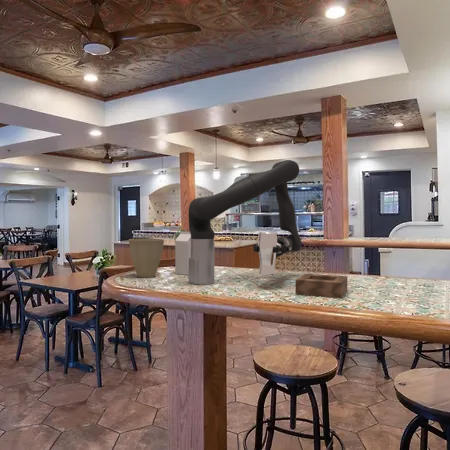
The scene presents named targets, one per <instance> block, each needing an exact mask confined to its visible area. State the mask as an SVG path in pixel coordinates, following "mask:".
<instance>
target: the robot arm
mask: <svg viewBox="0 0 450 450" xmlns="http://www.w3.org/2000/svg"><path fill="white" fill-rule="evenodd" d="M299 174H300V165H299V164H298V162H296V161H294V160H293V159H292V160H291V159H285V160H281V161H278V162H276V163H274V164H273V165H272V167H271V168H270V169H267V170H266V171H262V172H258V173H254V174H251V175H249V176H246V177H244V178H241V179H240V180H237V181H235V182H234V183H232V184H231V185H230V186H228V187H227V188H226V189H224V190H223V191H221V192H218V193H215V194H213V195H208V196H204V197H203V196H201V197H197V198H194V199H192V200H191V202H190V204H189V206H188V230H189V231H188V232H190V234H191V258H189V275H188V283H191V284H193V285H210V284H214V283H215V231H214V230H213V229H212V226H211V221H212V220H214V219H215V218H217V217H219V216H220V215H221V214H224V212H226V211H228V210H230V209H232V208H235V207H238V206H240V205H243V204H245V203H247V202H249V201H252V200H253V199H256V198H257V197H259V196H261V195H263V194H265V193H267V192H268V191H270V190H271V189H273V188H274V193H275V197H276V200H277V208H278V216H279V218H278V220H279V221H278V222H279V228H280V230H281V231H284V232H289V233H290V235H283V236H282V235H281V236H277V247H275V248H274V253H276V258H279V257H282V256H284V255H286V254H288V253H296V252H299V251H301V249H302V243H303V242H302V239H301V237H300V234H299V231H298V227H297V222H296V221H297V220H296V218H297V217H296V216H297V215H296V210H295V206H294V204H293V202H292V199H291V197H290V194H289V192H288V191H289V190H288V182H289V183H290V182H293V181H294V180H295V179H297V177H298V176H299ZM252 245H253V246H252V247H253V250H252V251H253V252H255V253H259V252H258V243H254V244H252Z"/></svg>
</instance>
